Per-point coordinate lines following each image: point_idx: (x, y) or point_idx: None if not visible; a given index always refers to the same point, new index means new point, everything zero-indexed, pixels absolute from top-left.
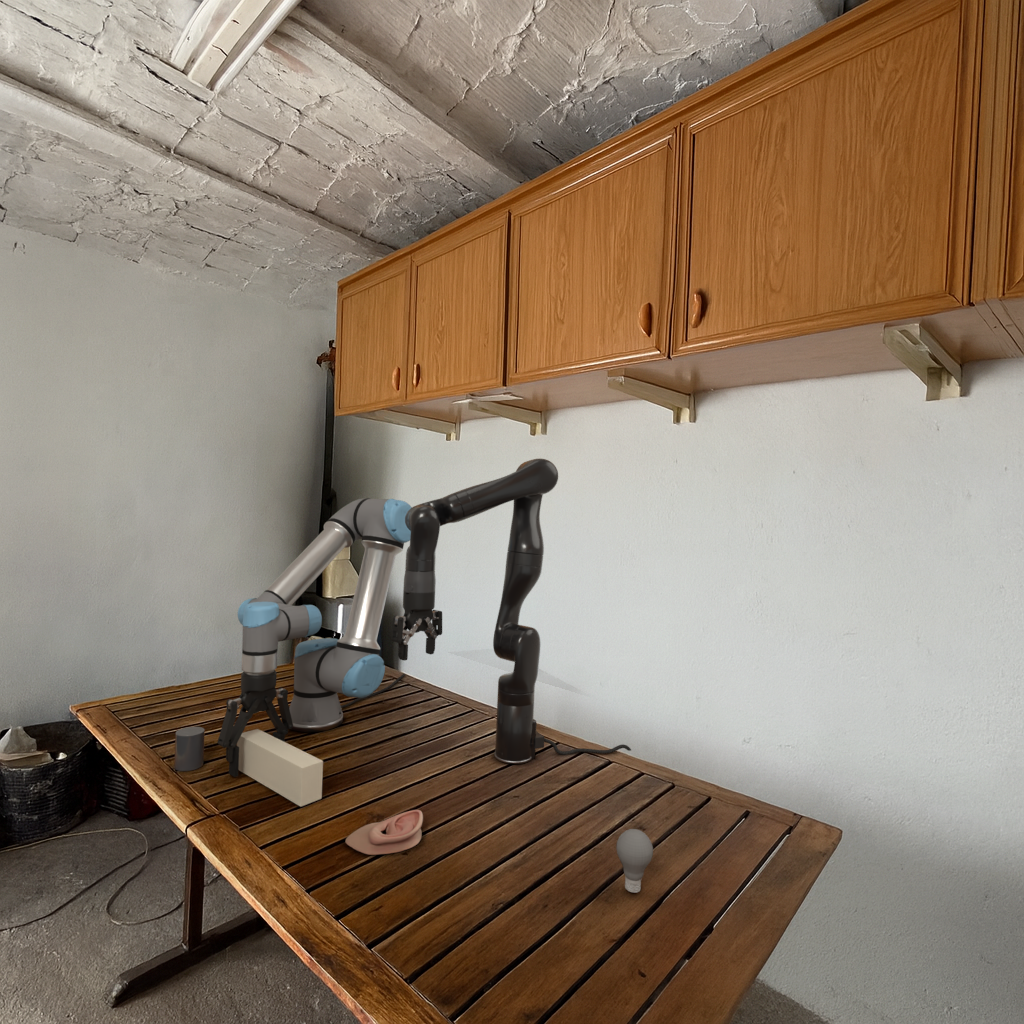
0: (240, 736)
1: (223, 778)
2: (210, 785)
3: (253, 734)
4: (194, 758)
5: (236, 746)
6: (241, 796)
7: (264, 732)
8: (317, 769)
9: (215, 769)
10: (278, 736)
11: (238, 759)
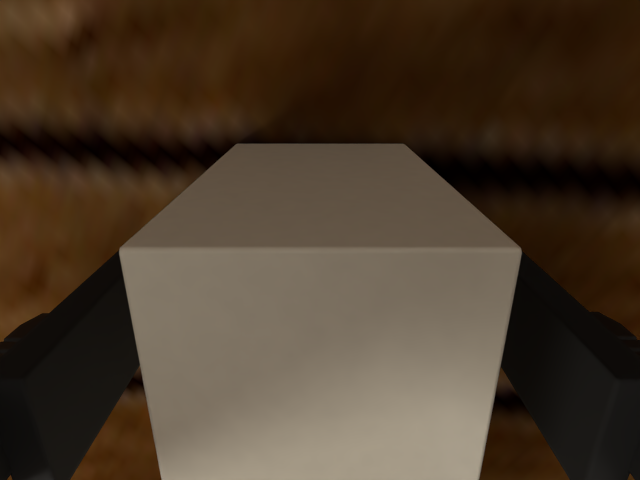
0: (137, 341)
1: (107, 227)
2: (8, 264)
3: (318, 415)
4: None
5: (35, 468)
6: (117, 470)
7: (478, 445)
8: None
9: (106, 30)
10: (576, 472)
11: (118, 394)
